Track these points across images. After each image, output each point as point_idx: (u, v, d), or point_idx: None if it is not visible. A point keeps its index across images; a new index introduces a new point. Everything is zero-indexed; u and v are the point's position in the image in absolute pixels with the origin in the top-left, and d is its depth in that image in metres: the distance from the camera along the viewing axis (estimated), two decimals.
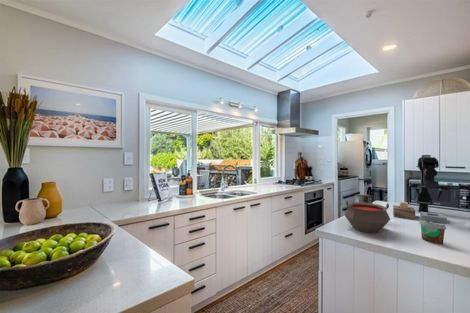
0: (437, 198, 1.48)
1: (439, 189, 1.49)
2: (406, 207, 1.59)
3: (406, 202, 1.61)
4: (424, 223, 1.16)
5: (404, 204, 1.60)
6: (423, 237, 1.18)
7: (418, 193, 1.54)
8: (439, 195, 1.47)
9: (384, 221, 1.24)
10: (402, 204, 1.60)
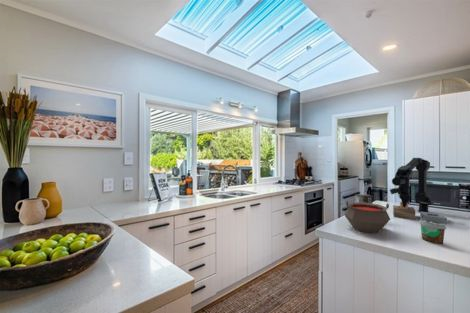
0: (403, 205, 1.60)
1: None
2: (406, 207, 1.59)
3: None
4: (424, 223, 1.16)
5: None
6: (423, 237, 1.18)
7: (401, 200, 1.65)
8: (402, 202, 1.60)
9: (384, 221, 1.24)
10: (402, 204, 1.60)
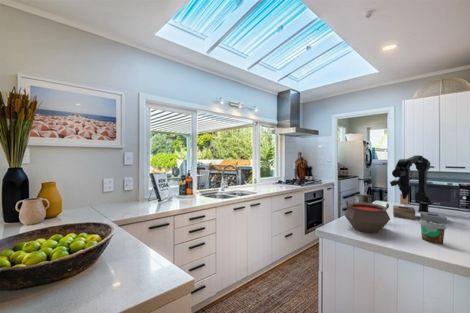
0: (403, 197, 1.60)
1: None
2: (406, 199, 1.59)
3: None
4: (424, 223, 1.16)
5: None
6: (423, 237, 1.18)
7: None
8: (402, 194, 1.60)
9: (384, 221, 1.24)
10: (402, 196, 1.60)
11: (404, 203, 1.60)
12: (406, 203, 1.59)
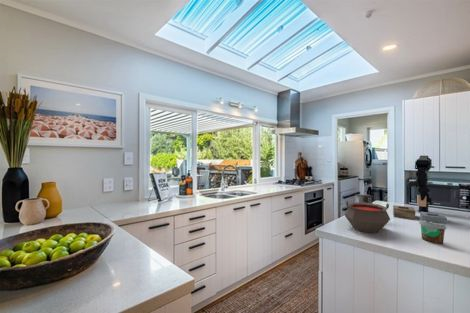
0: (421, 198, 1.55)
1: None
2: (424, 200, 1.54)
3: None
4: (424, 223, 1.16)
5: None
6: (423, 237, 1.18)
7: (419, 194, 1.60)
8: (420, 195, 1.55)
9: (384, 221, 1.24)
10: (420, 197, 1.55)
11: (422, 205, 1.55)
12: (424, 205, 1.54)
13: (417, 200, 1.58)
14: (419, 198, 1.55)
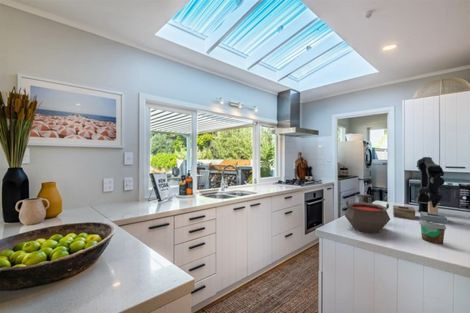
0: (432, 205, 1.52)
1: None
2: (436, 207, 1.51)
3: None
4: (424, 223, 1.16)
5: None
6: (423, 237, 1.18)
7: (430, 200, 1.56)
8: None
9: (384, 221, 1.24)
10: None
11: (434, 212, 1.51)
12: (436, 212, 1.51)
13: (428, 207, 1.55)
14: (431, 205, 1.52)
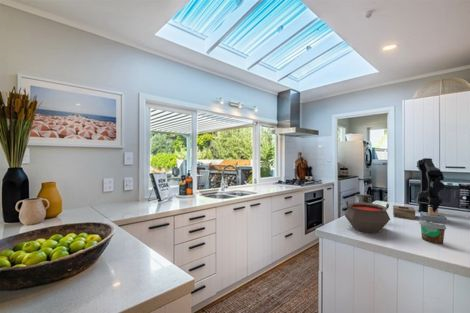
0: (433, 210, 1.51)
1: None
2: (436, 213, 1.51)
3: None
4: (424, 223, 1.16)
5: None
6: (423, 237, 1.18)
7: (429, 204, 1.57)
8: (432, 206, 1.50)
9: (384, 221, 1.24)
10: (431, 210, 1.52)
11: None
12: None
13: (428, 212, 1.55)
14: (430, 211, 1.52)
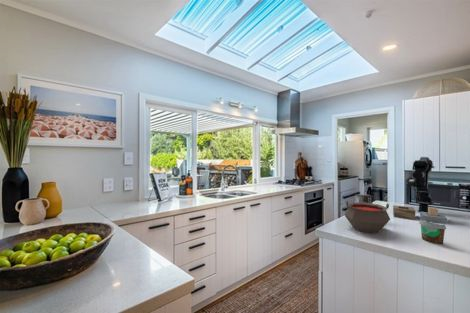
0: (420, 199, 1.59)
1: None
2: (436, 213, 1.51)
3: (436, 208, 1.53)
4: (424, 223, 1.16)
5: (434, 209, 1.51)
6: (423, 237, 1.18)
7: (416, 193, 1.67)
8: (419, 196, 1.58)
9: (384, 221, 1.24)
10: (431, 210, 1.52)
11: None
12: None
13: (428, 212, 1.55)
14: (430, 211, 1.52)
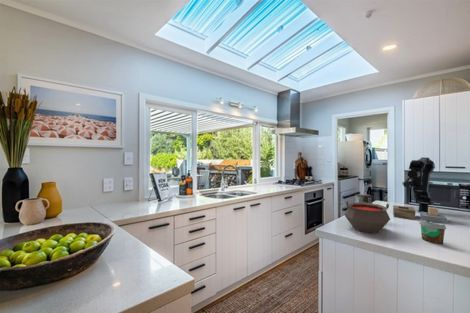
0: None
1: None
2: (436, 213, 1.51)
3: (436, 208, 1.53)
4: (424, 223, 1.16)
5: (434, 209, 1.51)
6: (423, 237, 1.18)
7: None
8: (415, 195, 1.60)
9: (384, 221, 1.24)
10: (431, 210, 1.52)
11: None
12: None
13: (428, 212, 1.55)
14: (430, 211, 1.52)
